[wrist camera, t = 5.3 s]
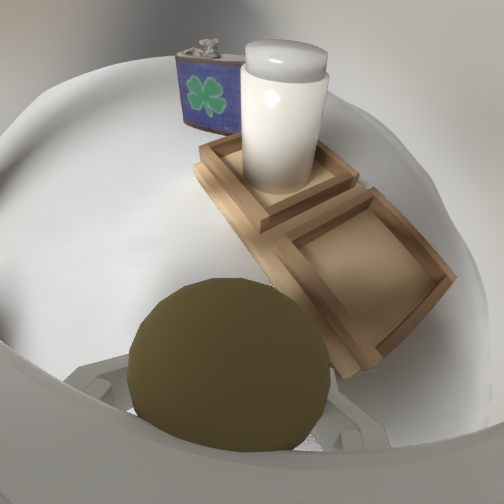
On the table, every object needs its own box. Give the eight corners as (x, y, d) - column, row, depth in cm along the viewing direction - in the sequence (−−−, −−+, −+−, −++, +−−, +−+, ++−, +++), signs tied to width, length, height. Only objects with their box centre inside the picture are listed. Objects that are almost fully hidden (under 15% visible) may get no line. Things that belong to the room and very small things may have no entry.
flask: (257, 130, 28) (259, 39, 19) (243, 143, 26) (242, 45, 17) (192, 113, 30) (182, 35, 21) (176, 124, 29) (162, 42, 20)
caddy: (194, 175, 24) (189, 149, 21) (291, 139, 27) (294, 116, 24) (345, 382, 14) (364, 376, 12) (440, 289, 18) (461, 271, 15)
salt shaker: (230, 163, 22) (223, 44, 13) (283, 144, 24) (293, 37, 15) (267, 205, 20) (277, 64, 11) (323, 179, 21) (351, 59, 12)
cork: (218, 326, 16) (178, 208, 7) (307, 366, 15) (396, 297, 6) (171, 408, 14) (52, 399, 4) (264, 454, 12) (292, 538, 3)
